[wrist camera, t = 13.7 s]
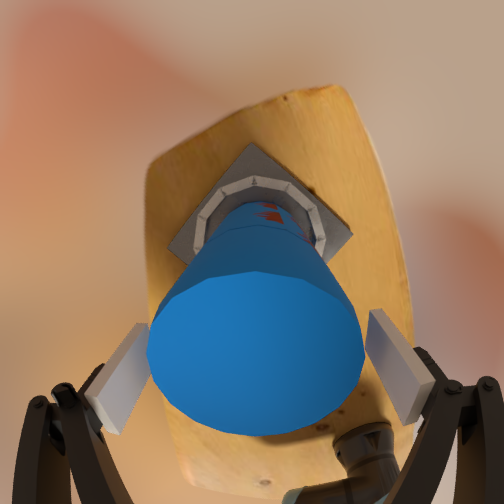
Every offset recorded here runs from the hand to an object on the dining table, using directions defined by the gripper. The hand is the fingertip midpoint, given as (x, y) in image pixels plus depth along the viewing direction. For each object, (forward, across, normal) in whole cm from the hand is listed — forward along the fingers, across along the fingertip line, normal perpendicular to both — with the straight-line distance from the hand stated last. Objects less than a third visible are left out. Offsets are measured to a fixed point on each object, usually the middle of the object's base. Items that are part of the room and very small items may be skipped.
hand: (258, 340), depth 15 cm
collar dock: (+23, 0, -1) cm, 23 cm away
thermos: (+22, 0, -1) cm, 22 cm away
